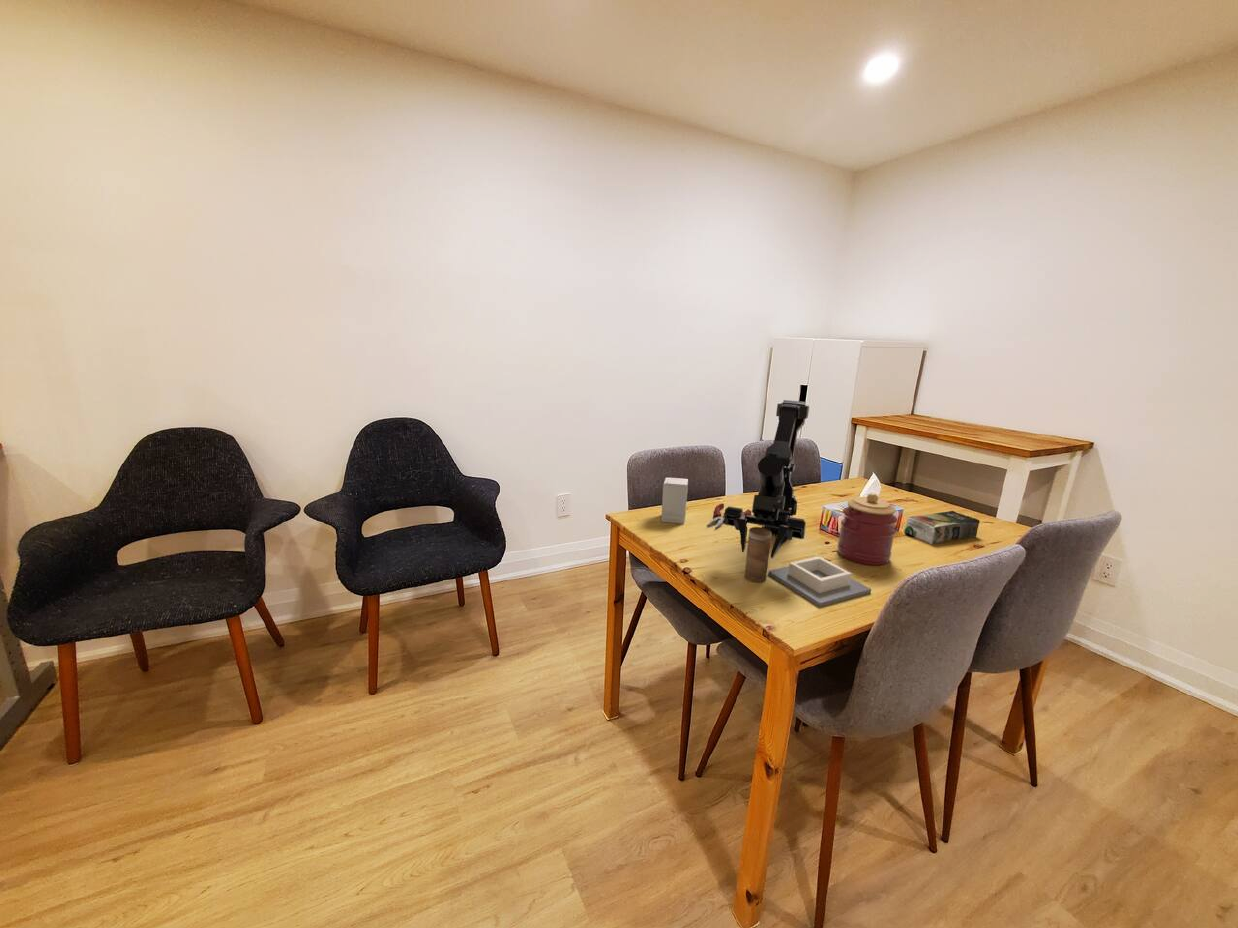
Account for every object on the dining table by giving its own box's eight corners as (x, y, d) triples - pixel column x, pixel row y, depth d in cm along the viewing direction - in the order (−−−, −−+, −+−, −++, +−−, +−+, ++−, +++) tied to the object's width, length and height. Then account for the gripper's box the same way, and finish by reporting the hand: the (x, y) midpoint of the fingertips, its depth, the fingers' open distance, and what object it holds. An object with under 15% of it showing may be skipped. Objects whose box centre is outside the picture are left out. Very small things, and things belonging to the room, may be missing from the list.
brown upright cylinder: (756, 571, 120) (761, 525, 117) (770, 580, 115) (776, 533, 112) (739, 574, 118) (744, 528, 115) (753, 584, 113) (759, 536, 110)
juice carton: (930, 546, 139) (934, 525, 137) (900, 533, 148) (903, 514, 146) (977, 538, 146) (981, 519, 144) (946, 527, 155) (949, 509, 153)
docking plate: (816, 563, 125) (818, 549, 124) (870, 592, 111) (873, 577, 110) (768, 574, 118) (769, 559, 117) (819, 607, 104) (822, 590, 103)
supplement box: (684, 524, 149) (687, 485, 146) (660, 521, 150) (662, 483, 147) (686, 516, 156) (688, 478, 153) (663, 513, 158) (665, 476, 154)
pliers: (693, 526, 149) (694, 518, 149) (719, 508, 165) (720, 501, 165) (728, 535, 143) (729, 527, 142) (752, 516, 159) (753, 509, 158)
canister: (826, 549, 134) (835, 488, 130) (859, 542, 139) (869, 484, 135) (865, 569, 122) (877, 503, 118) (901, 562, 128) (913, 498, 123)
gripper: (729, 474, 118) (713, 532, 111) (810, 486, 110) (798, 549, 103) (733, 496, 127) (719, 551, 120) (809, 509, 119) (798, 568, 112)
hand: (756, 554), depth 114 cm, fingers open, 6 cm apart
